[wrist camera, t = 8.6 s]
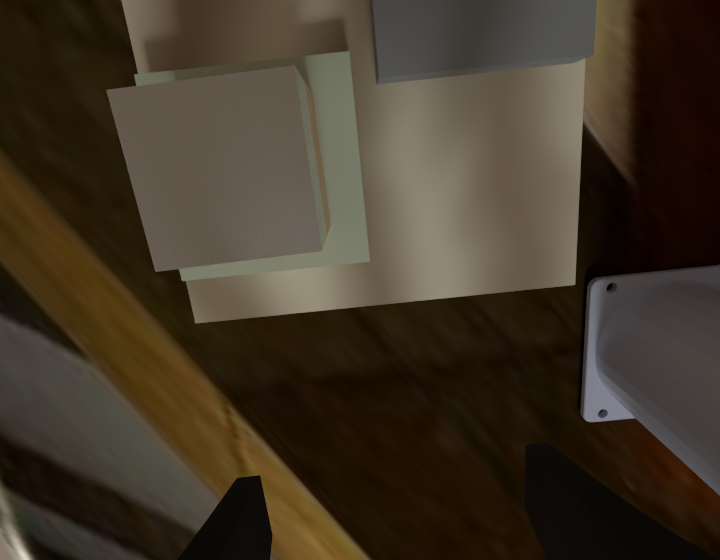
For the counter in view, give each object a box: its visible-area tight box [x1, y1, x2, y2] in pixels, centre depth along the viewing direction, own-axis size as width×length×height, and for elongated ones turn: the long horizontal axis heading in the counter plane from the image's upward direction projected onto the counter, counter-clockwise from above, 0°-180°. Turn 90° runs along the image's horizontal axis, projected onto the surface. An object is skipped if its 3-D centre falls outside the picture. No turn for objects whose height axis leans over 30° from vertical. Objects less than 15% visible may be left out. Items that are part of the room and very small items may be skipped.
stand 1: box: [134, 51, 370, 281], centre depth 17 cm, size 8×8×2 cm
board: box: [122, 0, 586, 323], centre depth 18 cm, size 18×18×1 cm
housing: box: [107, 65, 331, 272], centre depth 14 cm, size 5×5×5 cm
